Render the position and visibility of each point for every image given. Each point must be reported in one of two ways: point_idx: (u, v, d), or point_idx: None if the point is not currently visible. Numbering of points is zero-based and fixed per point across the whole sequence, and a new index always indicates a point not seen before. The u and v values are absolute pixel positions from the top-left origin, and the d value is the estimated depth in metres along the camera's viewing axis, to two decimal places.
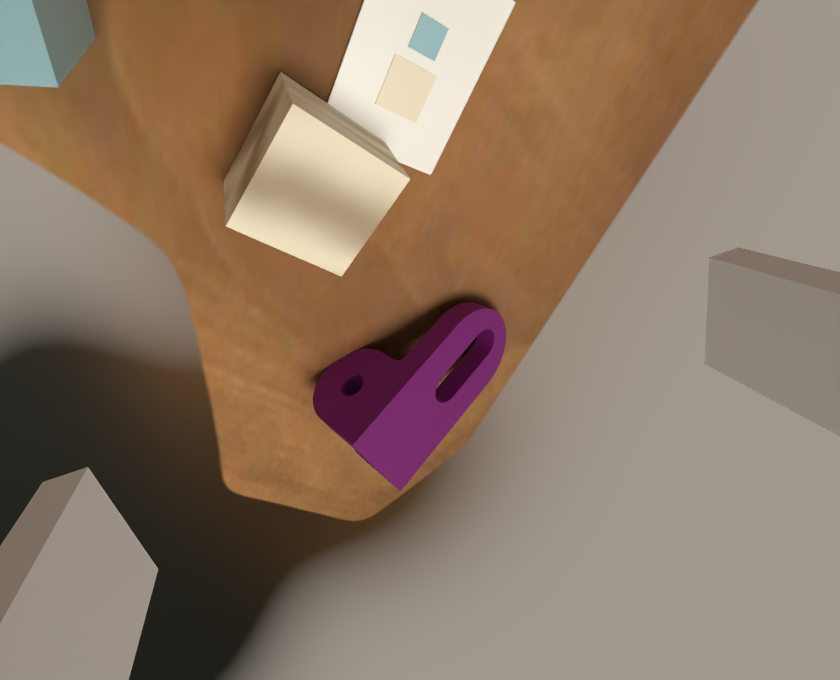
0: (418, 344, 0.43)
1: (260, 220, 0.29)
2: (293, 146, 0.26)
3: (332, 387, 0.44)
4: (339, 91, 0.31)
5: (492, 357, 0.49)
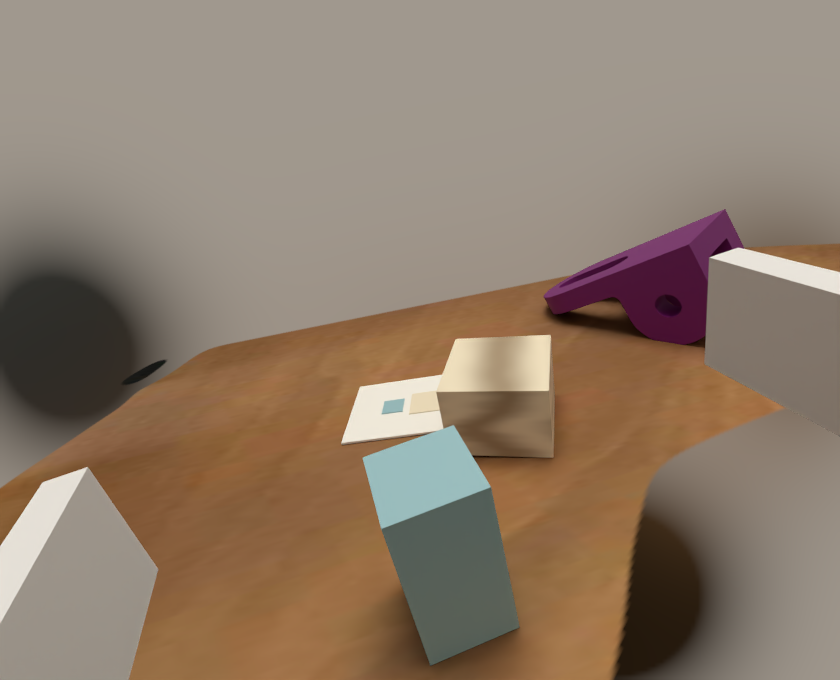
0: (595, 300, 0.49)
1: (530, 378, 0.35)
2: (464, 383, 0.36)
3: (690, 318, 0.43)
4: None
5: (580, 273, 0.57)
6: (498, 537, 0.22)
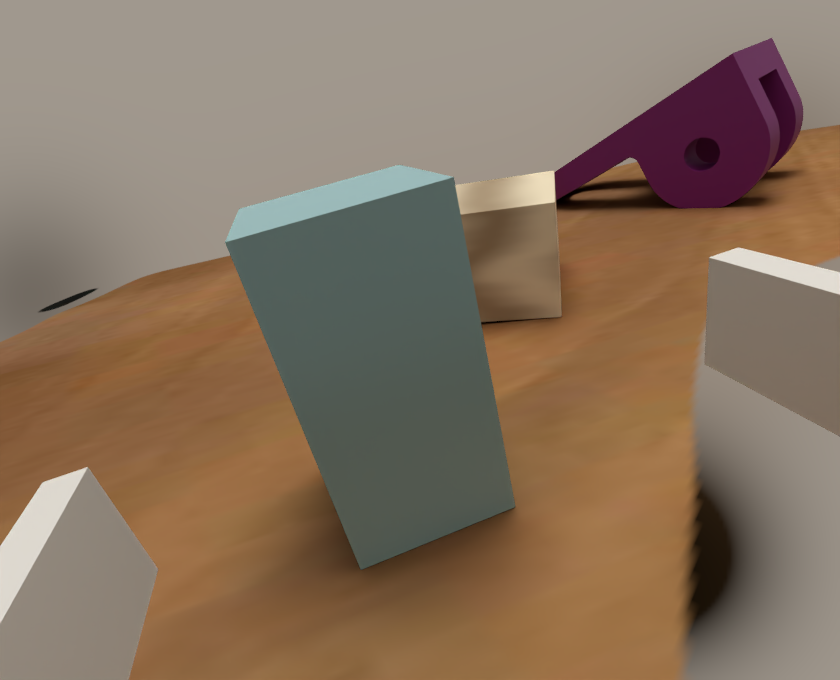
0: (606, 166, 0.39)
1: (528, 198, 0.24)
2: None
3: (731, 167, 0.33)
4: None
5: None
6: (472, 306, 0.12)
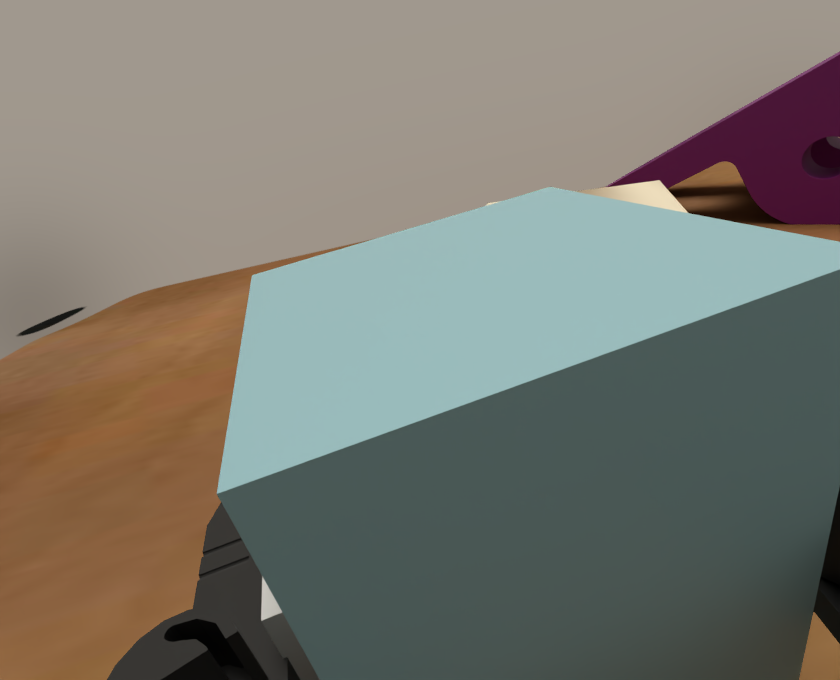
0: (692, 172, 0.32)
1: None
2: None
3: None
4: None
5: None
6: (817, 544, 0.05)
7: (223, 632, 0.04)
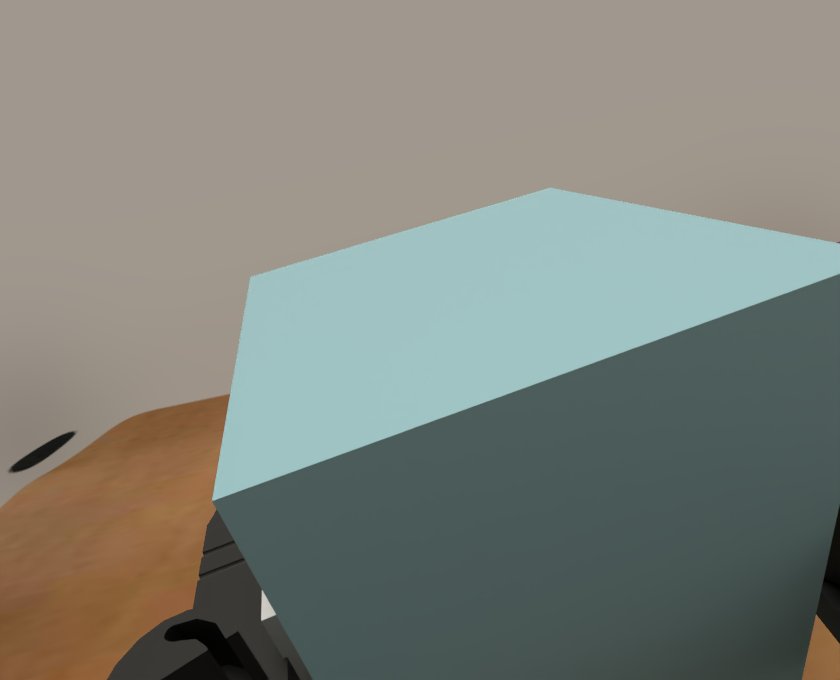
0: None
1: None
2: None
3: None
4: None
5: None
6: (820, 549, 0.05)
7: (223, 632, 0.04)
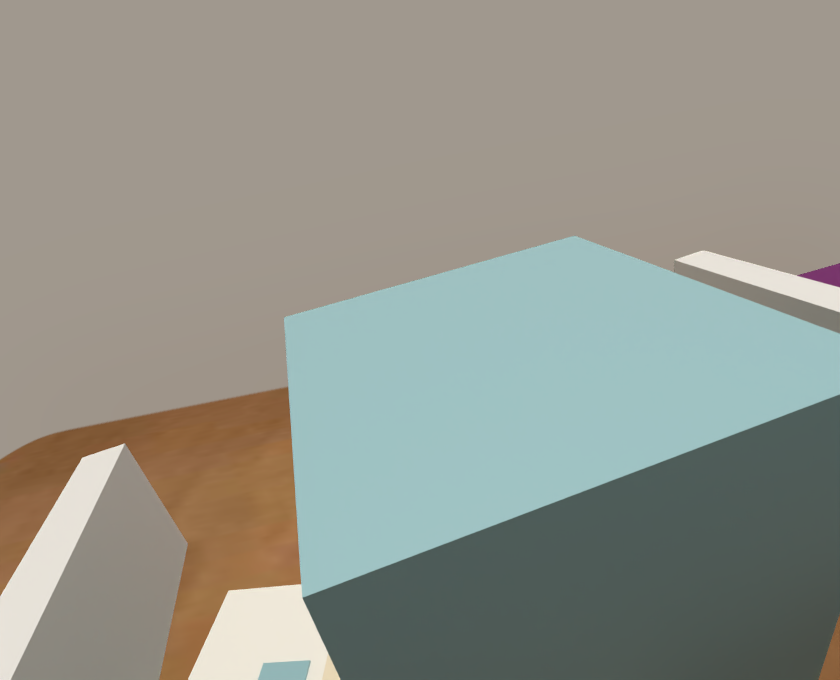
0: None
1: None
2: None
3: None
4: None
5: None
6: (831, 611, 0.05)
7: None
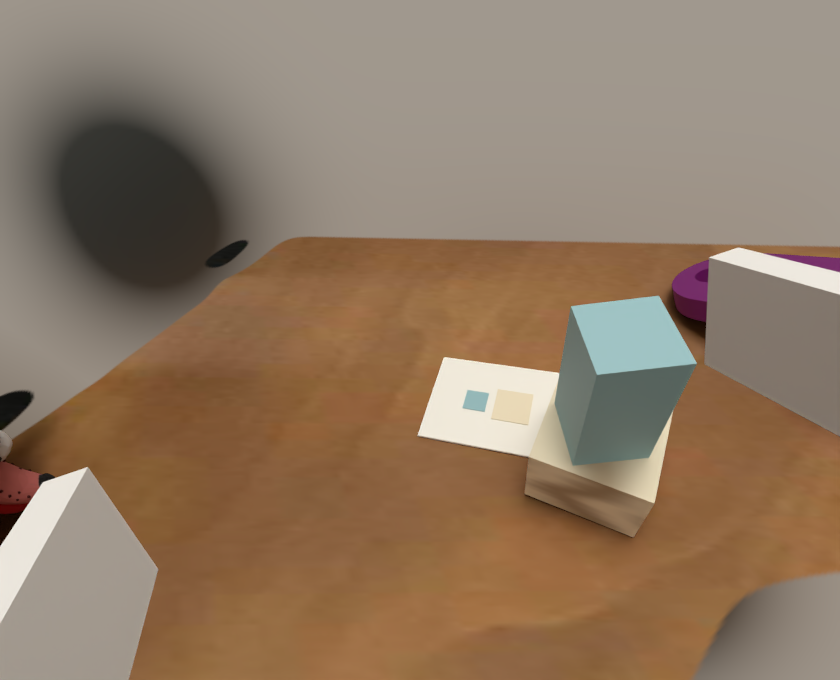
0: None
1: (637, 474, 0.31)
2: (561, 454, 0.33)
3: None
4: (526, 451, 0.40)
5: None
6: (676, 398, 0.27)
7: None
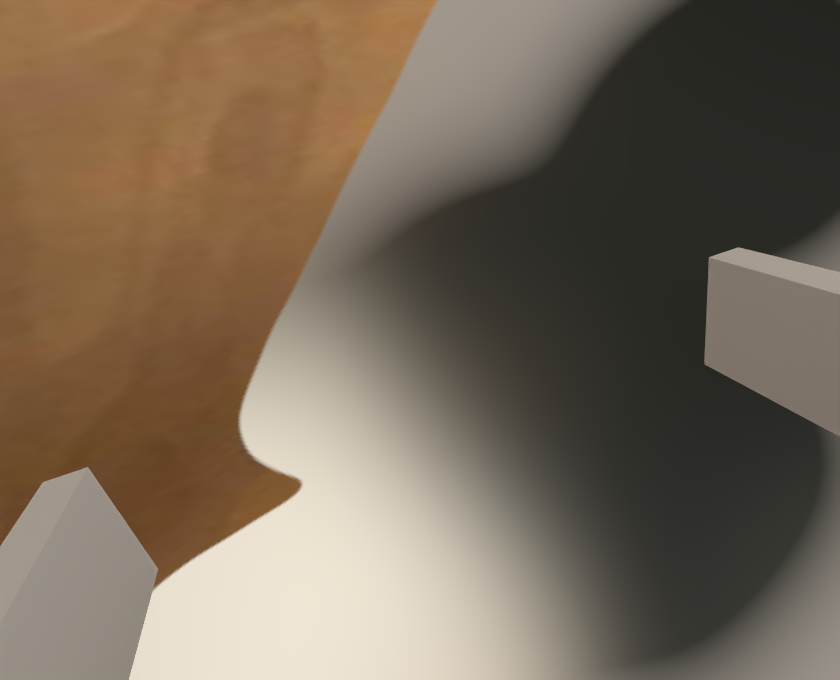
0: None
1: None
2: None
3: None
4: None
5: None
6: None
7: None
